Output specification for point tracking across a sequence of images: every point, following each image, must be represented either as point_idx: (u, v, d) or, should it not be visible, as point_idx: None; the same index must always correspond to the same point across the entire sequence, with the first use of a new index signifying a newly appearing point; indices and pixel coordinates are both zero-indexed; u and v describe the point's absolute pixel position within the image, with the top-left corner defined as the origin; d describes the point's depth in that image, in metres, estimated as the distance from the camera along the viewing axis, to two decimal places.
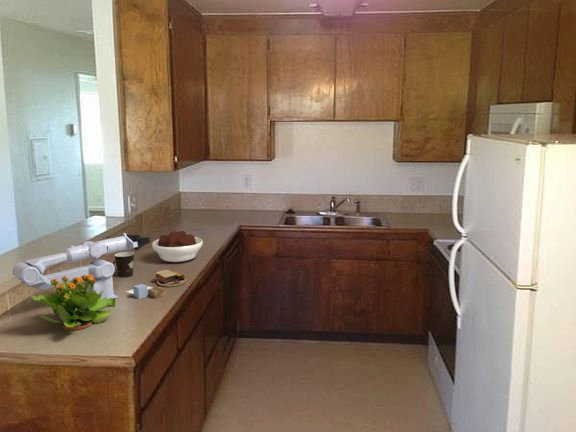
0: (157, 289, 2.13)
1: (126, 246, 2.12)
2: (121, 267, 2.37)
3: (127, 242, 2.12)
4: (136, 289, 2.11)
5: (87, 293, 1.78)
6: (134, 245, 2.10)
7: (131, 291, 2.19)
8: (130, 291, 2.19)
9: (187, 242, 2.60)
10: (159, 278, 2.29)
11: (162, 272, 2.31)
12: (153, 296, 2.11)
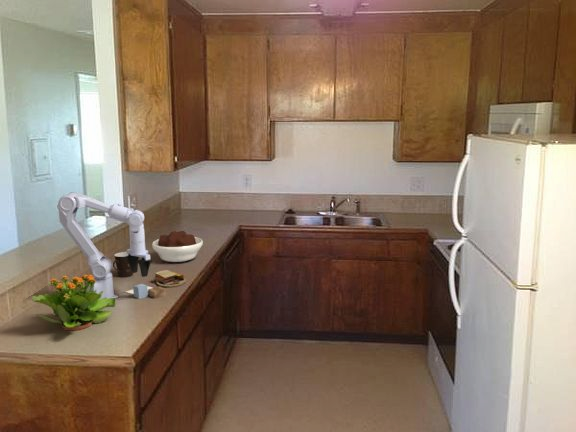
0: (157, 289, 2.13)
1: (139, 252, 2.07)
2: (121, 267, 2.37)
3: (143, 252, 2.08)
4: (136, 289, 2.11)
5: (87, 293, 1.78)
6: (147, 256, 2.05)
7: (131, 291, 2.19)
8: (130, 291, 2.19)
9: (187, 242, 2.60)
10: (159, 278, 2.29)
11: (161, 272, 2.31)
12: (153, 296, 2.11)
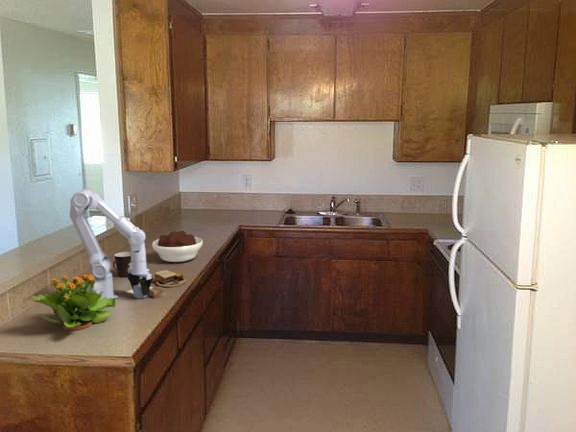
0: (157, 289, 2.13)
1: (140, 271, 2.08)
2: (121, 267, 2.37)
3: (144, 271, 2.10)
4: (136, 289, 2.11)
5: (87, 293, 1.78)
6: (148, 275, 2.06)
7: (131, 291, 2.19)
8: (130, 291, 2.19)
9: (187, 242, 2.60)
10: (158, 278, 2.28)
11: (161, 272, 2.31)
12: (153, 296, 2.11)
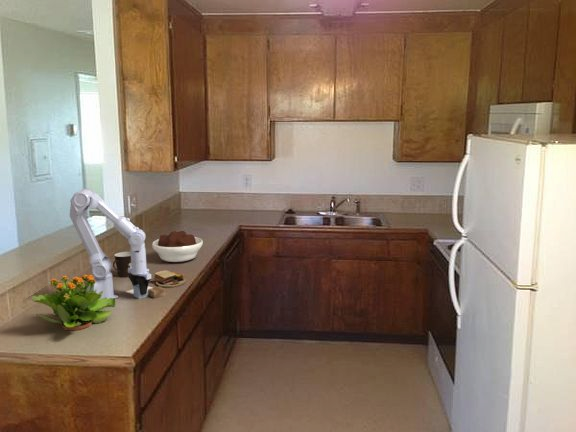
0: (157, 289, 2.13)
1: (140, 271, 2.08)
2: (121, 267, 2.37)
3: (144, 271, 2.10)
4: (136, 289, 2.11)
5: (87, 293, 1.78)
6: (148, 275, 2.06)
7: (131, 291, 2.19)
8: (130, 291, 2.19)
9: (187, 242, 2.60)
10: (158, 279, 2.28)
11: (161, 273, 2.31)
12: (153, 296, 2.11)
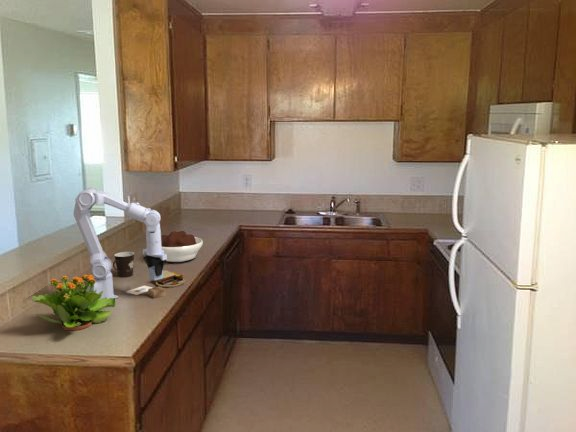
0: (157, 289, 2.13)
1: (155, 252, 2.08)
2: (121, 267, 2.37)
3: (159, 252, 2.09)
4: (151, 271, 2.10)
5: (87, 293, 1.78)
6: (164, 256, 2.06)
7: (131, 291, 2.19)
8: (130, 291, 2.19)
9: (187, 242, 2.60)
10: None
11: None
12: (152, 296, 2.11)
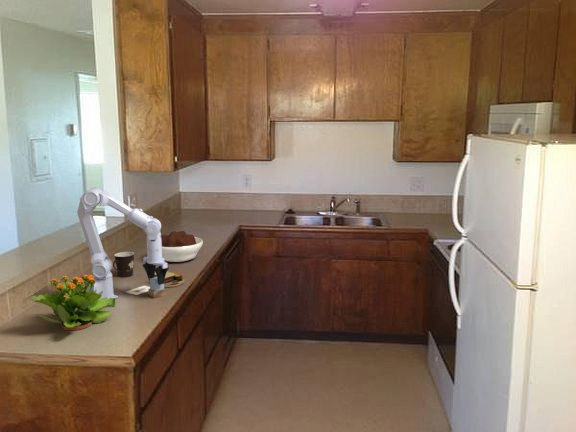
0: None
1: (156, 260, 2.08)
2: (121, 267, 2.37)
3: (160, 260, 2.10)
4: (152, 282, 2.11)
5: (87, 293, 1.78)
6: (164, 264, 2.06)
7: (131, 291, 2.19)
8: (130, 291, 2.19)
9: (187, 242, 2.60)
10: None
11: None
12: (152, 296, 2.11)
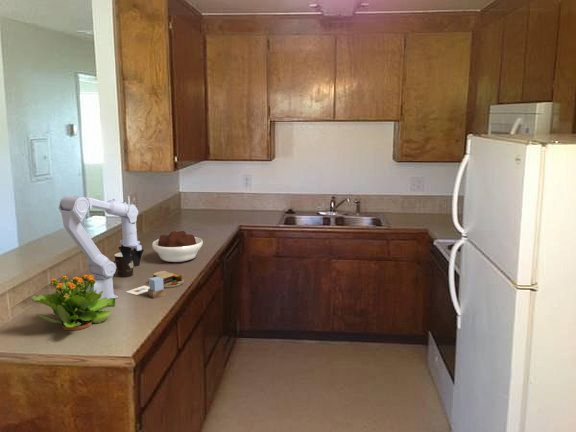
0: None
1: (131, 243, 2.17)
2: (121, 267, 2.37)
3: (135, 243, 2.18)
4: (152, 282, 2.11)
5: (87, 293, 1.78)
6: (139, 247, 2.15)
7: (131, 291, 2.19)
8: (130, 291, 2.19)
9: (187, 242, 2.60)
10: None
11: (159, 273, 2.30)
12: (152, 296, 2.11)
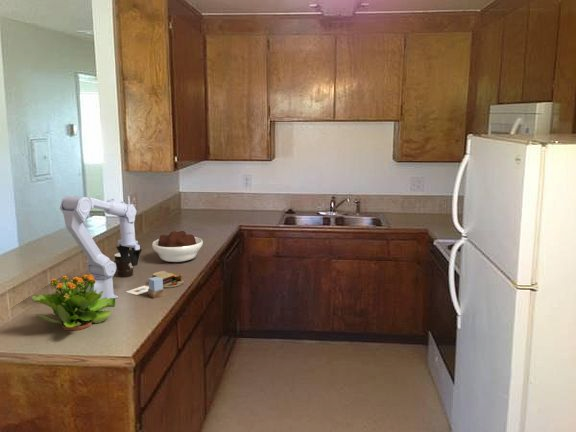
0: None
1: (129, 242, 2.18)
2: (121, 267, 2.37)
3: (133, 243, 2.19)
4: (151, 282, 2.11)
5: (87, 293, 1.78)
6: (137, 246, 2.16)
7: (131, 291, 2.19)
8: (130, 291, 2.19)
9: (187, 242, 2.60)
10: None
11: (158, 273, 2.29)
12: (152, 296, 2.11)
